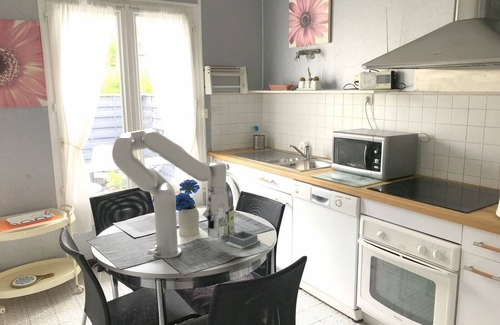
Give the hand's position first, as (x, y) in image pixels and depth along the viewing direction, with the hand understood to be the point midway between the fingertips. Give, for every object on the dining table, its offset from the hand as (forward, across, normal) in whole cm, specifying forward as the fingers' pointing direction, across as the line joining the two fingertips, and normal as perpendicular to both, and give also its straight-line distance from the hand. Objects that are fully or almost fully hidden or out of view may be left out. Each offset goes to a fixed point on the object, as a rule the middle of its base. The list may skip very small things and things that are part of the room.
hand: (216, 226), depth 194 cm
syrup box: (+5, 0, 0) cm, 5 cm away
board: (+10, +14, -4) cm, 18 cm away
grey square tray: (+10, +14, -4) cm, 18 cm away
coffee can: (+11, +19, +13) cm, 25 cm away
